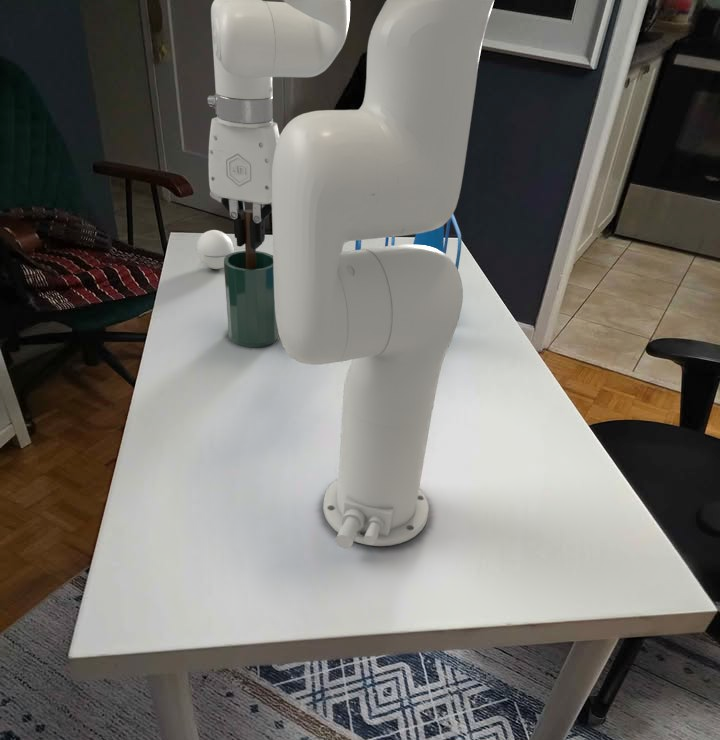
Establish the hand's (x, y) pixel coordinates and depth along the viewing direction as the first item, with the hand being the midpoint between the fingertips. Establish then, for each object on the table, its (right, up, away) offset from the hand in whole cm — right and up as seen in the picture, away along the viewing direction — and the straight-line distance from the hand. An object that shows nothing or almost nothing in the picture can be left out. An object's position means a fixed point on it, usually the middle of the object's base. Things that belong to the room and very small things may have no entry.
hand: (250, 244), depth 100 cm
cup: (-1, -12, +10) cm, 16 cm away
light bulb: (-11, +6, +31) cm, 33 cm away
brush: (-1, -10, +8) cm, 13 cm away
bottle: (+27, -12, +13) cm, 32 cm away
